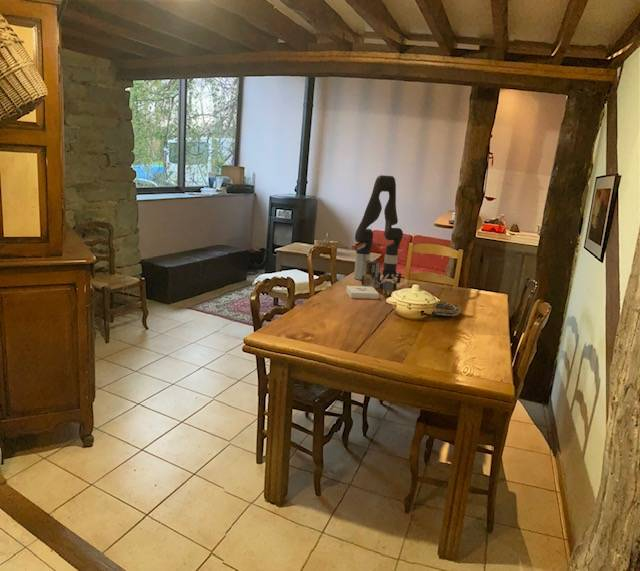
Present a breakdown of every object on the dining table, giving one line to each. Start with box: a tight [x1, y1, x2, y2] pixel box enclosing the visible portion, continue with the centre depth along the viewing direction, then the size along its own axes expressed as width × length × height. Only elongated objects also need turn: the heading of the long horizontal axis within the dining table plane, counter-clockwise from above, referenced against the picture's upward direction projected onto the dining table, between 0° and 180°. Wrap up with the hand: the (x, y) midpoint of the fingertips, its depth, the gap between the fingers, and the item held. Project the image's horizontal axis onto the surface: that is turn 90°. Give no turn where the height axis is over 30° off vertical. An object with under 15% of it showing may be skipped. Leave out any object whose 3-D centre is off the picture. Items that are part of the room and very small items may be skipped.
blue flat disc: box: [430, 300, 462, 318], centre depth 255 cm, size 28×27×5 cm
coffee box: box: [360, 260, 381, 290], centre depth 297 cm, size 9×6×16 cm
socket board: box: [345, 285, 380, 300], centre depth 280 cm, size 16×16×3 cm
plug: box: [382, 279, 394, 296], centre depth 284 cm, size 5×5×8 cm
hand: (387, 289), depth 284 cm, fingers open, 7 cm apart
